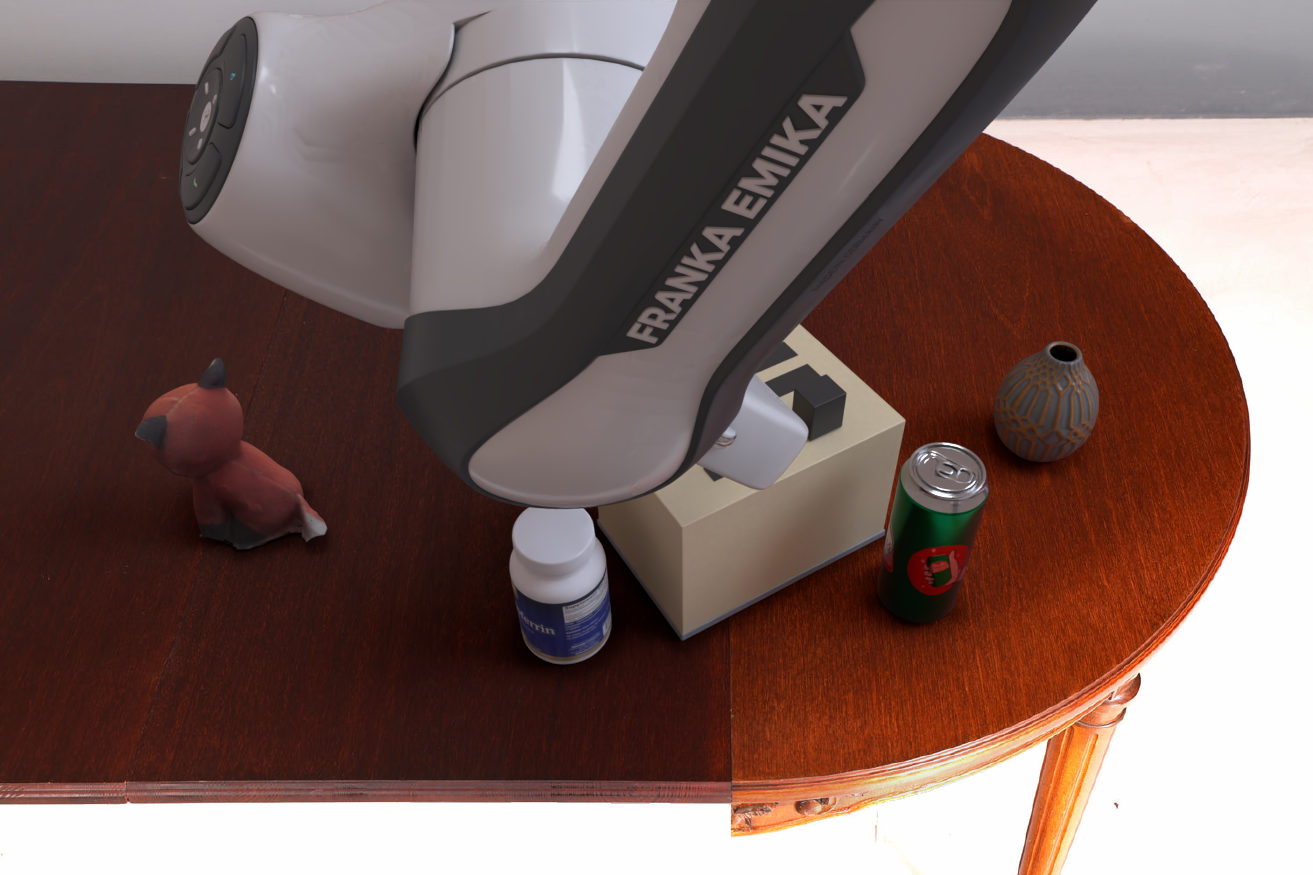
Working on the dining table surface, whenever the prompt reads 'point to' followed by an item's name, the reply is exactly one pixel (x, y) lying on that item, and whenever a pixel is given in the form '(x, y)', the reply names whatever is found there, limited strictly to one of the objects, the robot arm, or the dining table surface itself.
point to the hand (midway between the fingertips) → (733, 371)
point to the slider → (820, 405)
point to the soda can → (932, 531)
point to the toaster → (764, 506)
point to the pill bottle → (560, 584)
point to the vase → (1047, 404)
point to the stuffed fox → (225, 466)
